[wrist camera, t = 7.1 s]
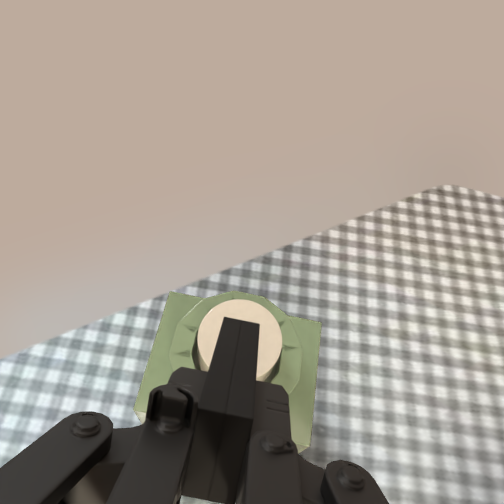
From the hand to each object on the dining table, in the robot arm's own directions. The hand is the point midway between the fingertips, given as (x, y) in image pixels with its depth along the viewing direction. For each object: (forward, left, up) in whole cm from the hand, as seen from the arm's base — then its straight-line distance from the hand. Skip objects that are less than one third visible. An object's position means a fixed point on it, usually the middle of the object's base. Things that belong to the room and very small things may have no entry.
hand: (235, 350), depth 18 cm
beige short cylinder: (0, -2, -7) cm, 7 cm away
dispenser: (0, -2, -20) cm, 20 cm away
